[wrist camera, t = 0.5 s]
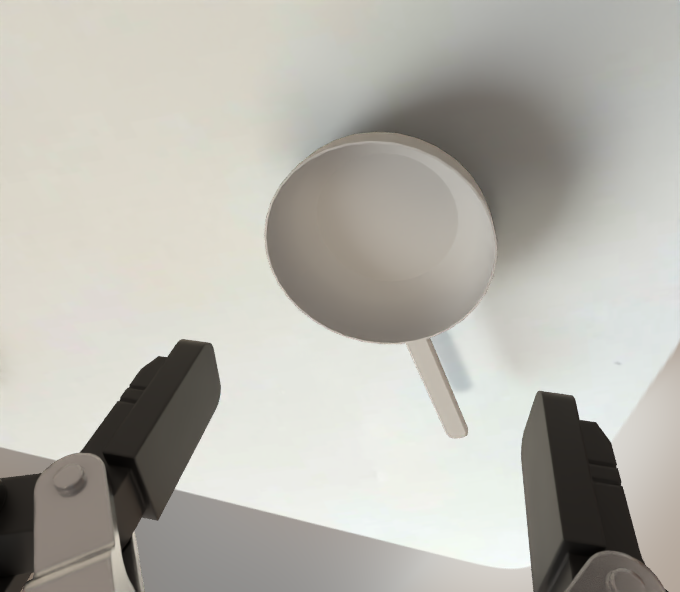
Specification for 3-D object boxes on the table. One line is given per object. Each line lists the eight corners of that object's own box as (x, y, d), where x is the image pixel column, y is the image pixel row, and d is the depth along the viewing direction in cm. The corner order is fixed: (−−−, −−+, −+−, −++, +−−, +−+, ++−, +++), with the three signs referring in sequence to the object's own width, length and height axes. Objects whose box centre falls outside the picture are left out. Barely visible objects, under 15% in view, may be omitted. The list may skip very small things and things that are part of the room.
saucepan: (455, 76, 22) (452, 102, 19) (549, 376, 30) (558, 426, 27) (248, 161, 26) (219, 193, 23) (381, 403, 35) (373, 450, 32)
